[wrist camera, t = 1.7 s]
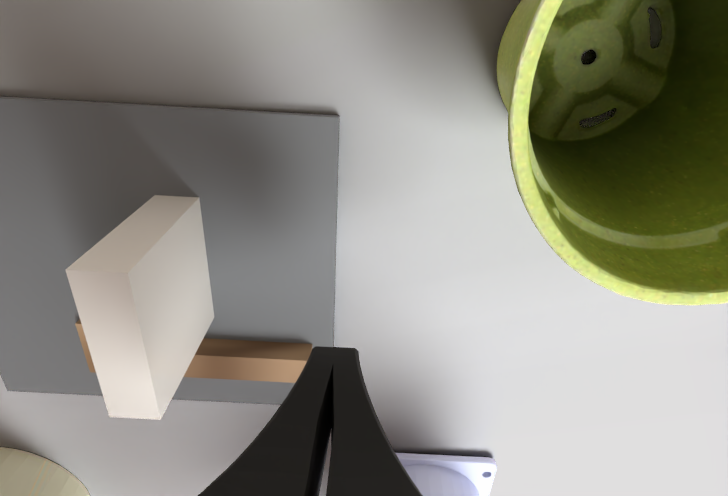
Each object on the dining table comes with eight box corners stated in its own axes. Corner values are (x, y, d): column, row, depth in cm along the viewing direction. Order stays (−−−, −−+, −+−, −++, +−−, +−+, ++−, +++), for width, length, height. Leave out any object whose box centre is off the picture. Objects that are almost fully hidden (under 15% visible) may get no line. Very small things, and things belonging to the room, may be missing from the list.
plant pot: (493, 217, 19) (575, 357, 11) (406, -17, 15) (442, -47, 7) (732, 122, 17) (1030, 213, 9) (704, -176, 13) (1181, -447, 5)
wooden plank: (312, 330, 21) (309, 347, 20) (312, 377, 23) (309, 395, 22) (80, 318, 21) (64, 334, 20) (94, 366, 23) (80, 384, 22)
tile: (214, 316, 21) (160, 419, 16) (174, 314, 21) (107, 417, 16) (199, 197, 18) (128, 273, 13) (153, 194, 18) (63, 269, 13)
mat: (331, 401, 24) (331, 407, 24) (12, 385, 24) (7, 390, 23) (339, 115, 17) (338, 117, 17) (-112, 90, 17) (-122, 91, 17)
